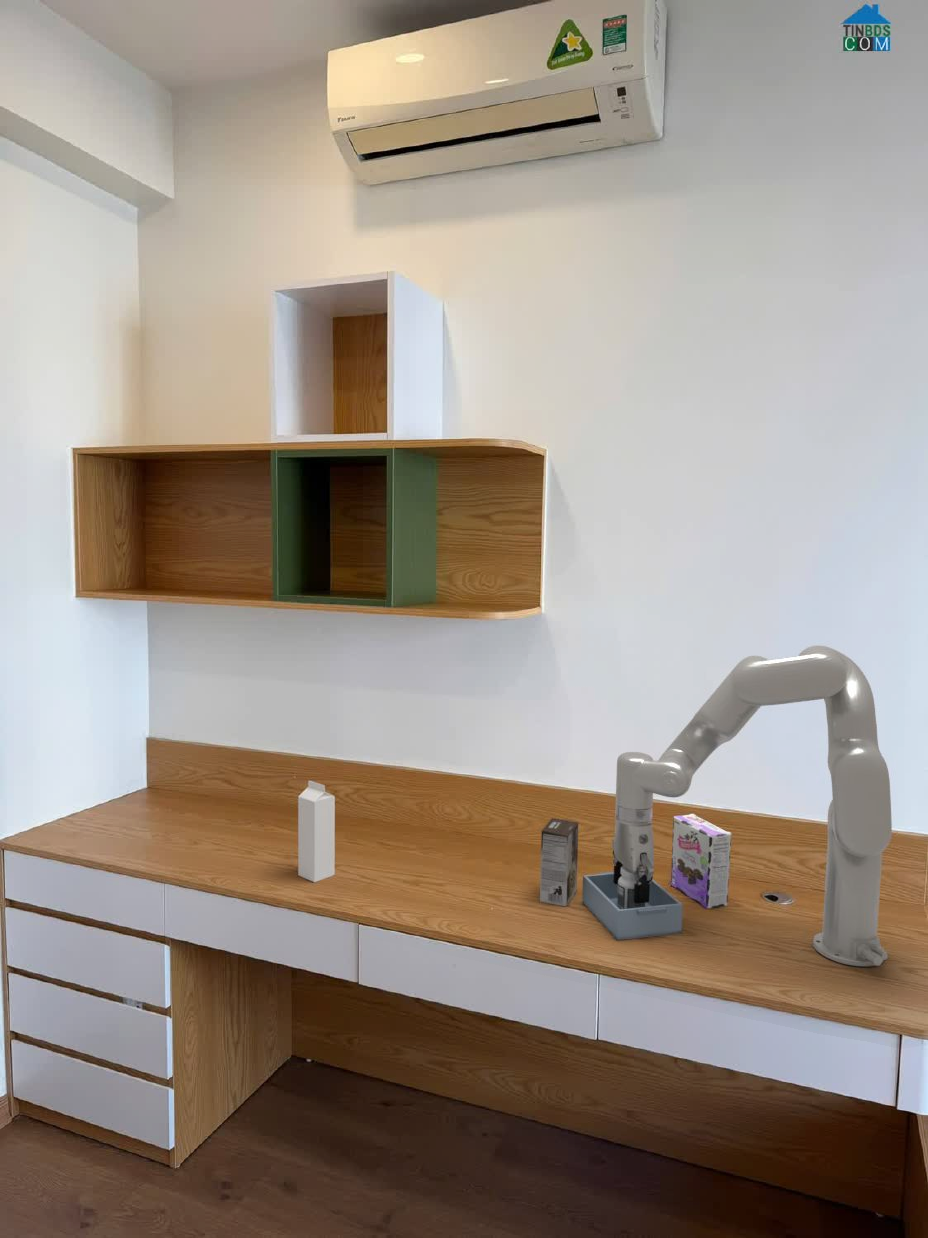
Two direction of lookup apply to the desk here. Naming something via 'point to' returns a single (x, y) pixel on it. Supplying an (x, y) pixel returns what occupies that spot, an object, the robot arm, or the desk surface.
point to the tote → (631, 909)
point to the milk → (316, 833)
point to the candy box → (701, 860)
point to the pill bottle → (627, 889)
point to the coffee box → (559, 862)
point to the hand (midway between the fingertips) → (630, 892)
